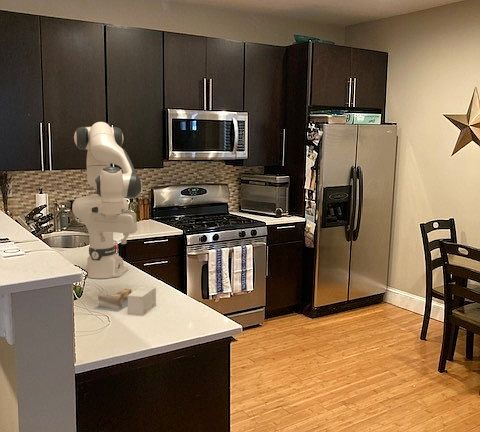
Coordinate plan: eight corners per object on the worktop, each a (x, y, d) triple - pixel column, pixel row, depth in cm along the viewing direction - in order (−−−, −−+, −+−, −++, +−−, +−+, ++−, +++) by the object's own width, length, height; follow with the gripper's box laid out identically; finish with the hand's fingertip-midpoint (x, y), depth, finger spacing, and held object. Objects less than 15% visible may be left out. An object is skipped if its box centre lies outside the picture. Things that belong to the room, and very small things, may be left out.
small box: (141, 285, 210) (127, 295, 197) (156, 287, 208) (142, 296, 196) (141, 305, 211) (127, 315, 198) (156, 306, 210) (143, 317, 197)
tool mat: (119, 295, 223) (119, 294, 223) (142, 298, 220) (142, 296, 220) (93, 310, 204) (93, 308, 204) (118, 313, 201) (118, 311, 201)
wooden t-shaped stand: (118, 295, 220) (118, 285, 220) (137, 298, 218) (137, 287, 217) (98, 307, 206) (98, 296, 205) (118, 309, 203) (118, 298, 202)
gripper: (139, 209, 206) (140, 243, 208) (94, 205, 212) (95, 239, 214) (132, 211, 200) (132, 246, 202) (85, 208, 206) (86, 242, 208)
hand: (113, 242), depth 208 cm, fingers open, 8 cm apart
